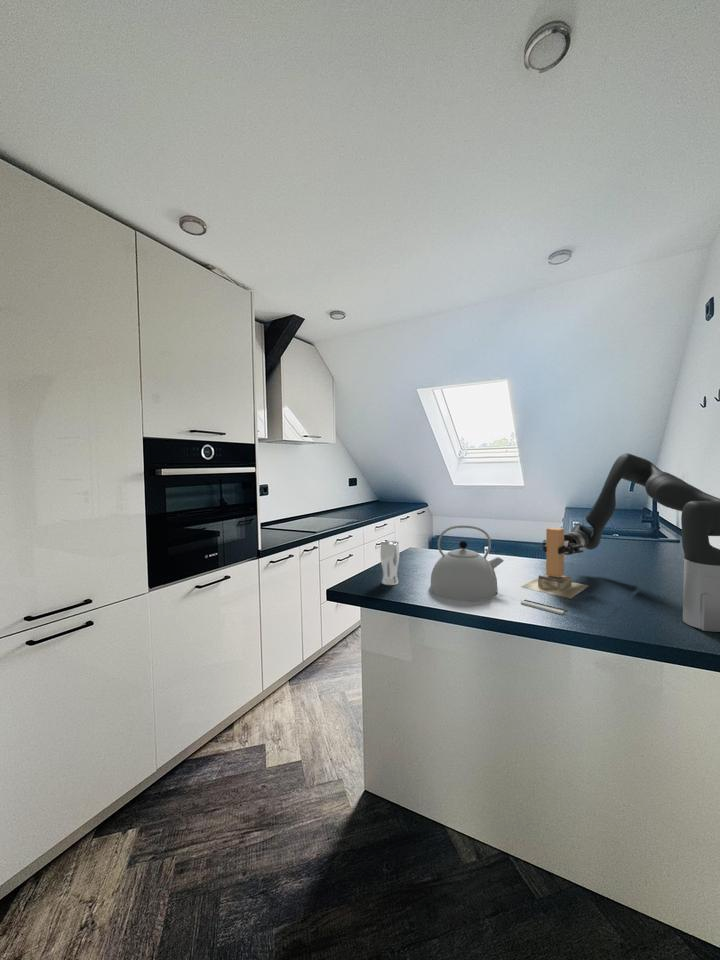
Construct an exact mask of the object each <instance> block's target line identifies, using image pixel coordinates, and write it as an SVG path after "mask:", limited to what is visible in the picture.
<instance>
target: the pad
mask: <svg viewBox="0 0 720 960" xmlns="http://www.w3.org/2000/svg"><path fill="white" fill-rule="evenodd" d="M520 604H521V605H524V606H528V607H532V608H536V609H538V610H541V611H542V610H543V611H546V612H549V613H553V614H554V613H555V614H558V615H561V616H562V615H564V614H565V613H566V612H568V610H567V609H563V608H560V607H556V606H553V605H548V604H544V603H540V602H536V601H532V600H527V599H524V600H522V601H520Z"/></svg>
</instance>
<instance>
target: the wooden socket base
mask: <svg viewBox="0 0 720 960" xmlns="http://www.w3.org/2000/svg"><path fill="white" fill-rule="evenodd" d="M572 579H573V578H572V576H568V575H567V576H566V575H562V576H560V577H554V576H548V575H546V573H545V574H543V575H541V574H539V575H538V578H535V579H534V580H532V581H529V582H527V583H526V584H523V585H521V586H520V588H522V589H528V590H531V591H536V592H541V593H545V594H548V595H553V596H558V597H563V598H567V599H572V598H573V597H575V596H577V595H578V594H579V593H581V592H582V591H584V590H585V589H587V588H588V587H589V586H590V585H587V584H585V583H583V584H582V583H578V582H573V581H572Z"/></svg>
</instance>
